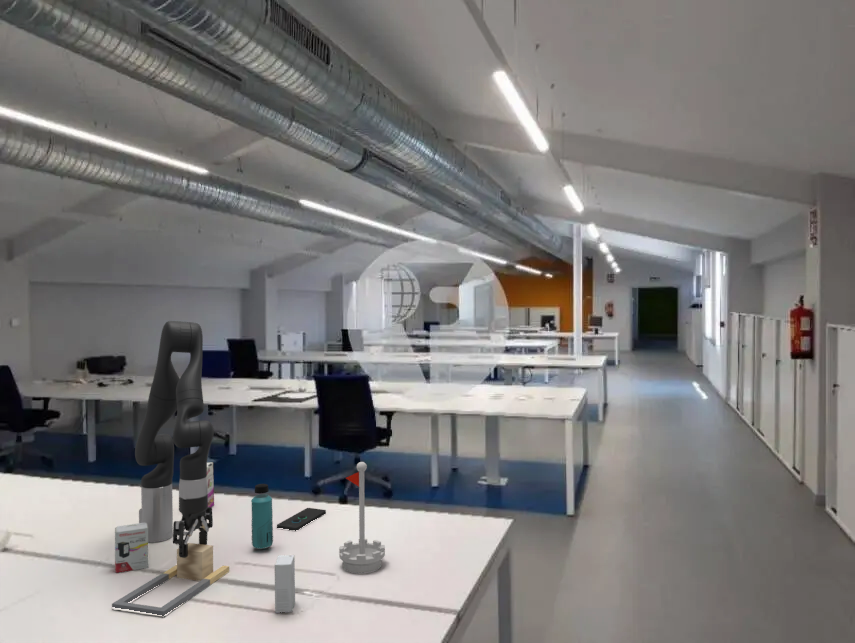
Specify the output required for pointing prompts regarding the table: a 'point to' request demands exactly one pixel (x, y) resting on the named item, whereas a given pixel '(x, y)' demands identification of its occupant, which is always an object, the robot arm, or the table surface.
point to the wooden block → (195, 562)
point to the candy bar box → (210, 484)
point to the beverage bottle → (262, 518)
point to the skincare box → (284, 583)
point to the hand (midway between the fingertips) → (193, 551)
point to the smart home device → (301, 519)
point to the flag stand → (361, 537)
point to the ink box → (131, 547)
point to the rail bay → (173, 603)
